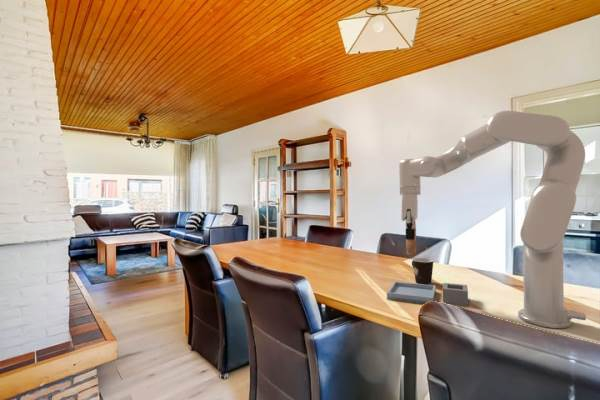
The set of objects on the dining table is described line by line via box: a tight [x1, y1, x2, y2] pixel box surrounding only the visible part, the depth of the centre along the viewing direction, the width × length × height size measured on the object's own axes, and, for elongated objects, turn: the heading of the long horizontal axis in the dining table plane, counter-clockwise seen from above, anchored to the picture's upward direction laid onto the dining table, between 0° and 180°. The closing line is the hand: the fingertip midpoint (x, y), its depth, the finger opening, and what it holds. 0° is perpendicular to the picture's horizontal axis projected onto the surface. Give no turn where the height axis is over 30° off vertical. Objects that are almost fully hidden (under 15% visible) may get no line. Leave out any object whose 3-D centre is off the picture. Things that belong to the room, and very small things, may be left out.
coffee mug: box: [411, 257, 434, 285], centre depth 137 cm, size 12×9×10 cm
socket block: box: [442, 282, 469, 306], centre depth 112 cm, size 8×8×5 cm
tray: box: [386, 281, 437, 305], centre depth 119 cm, size 16×16×2 cm
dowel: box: [405, 222, 417, 256], centre depth 119 cm, size 4×4×12 cm
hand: (410, 238), depth 119 cm, fingers closed on dowel, 3 cm apart
